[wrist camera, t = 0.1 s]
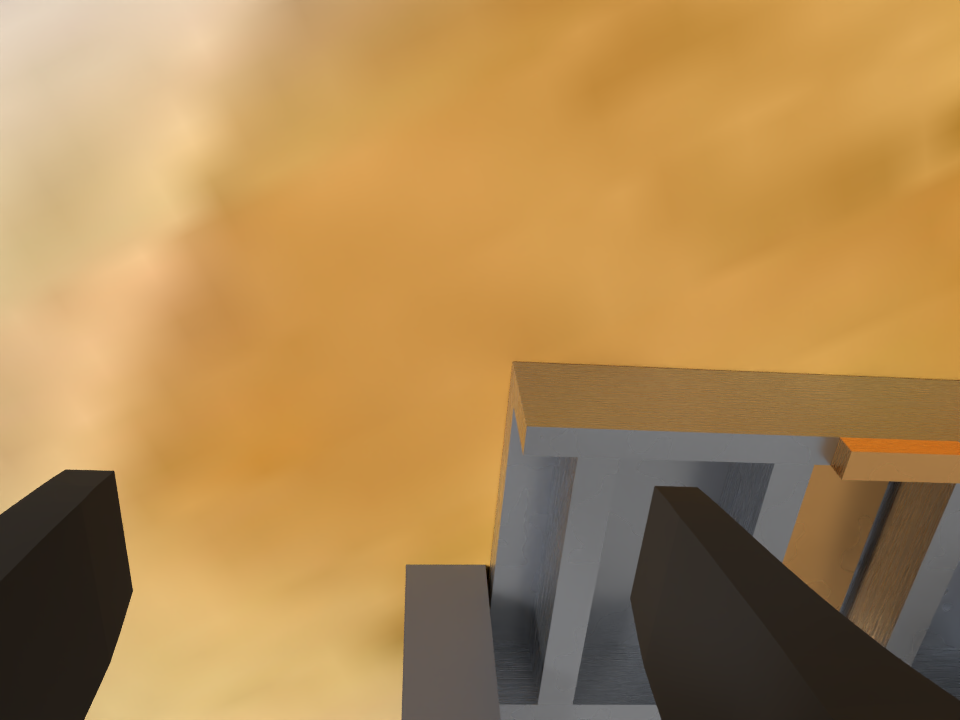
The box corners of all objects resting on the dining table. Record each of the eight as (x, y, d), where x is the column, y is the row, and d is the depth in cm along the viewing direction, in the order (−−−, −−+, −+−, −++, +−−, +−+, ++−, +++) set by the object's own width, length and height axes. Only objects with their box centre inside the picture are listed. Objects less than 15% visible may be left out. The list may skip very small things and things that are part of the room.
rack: (1006, 642, 27) (1088, 741, 24) (482, 637, 26) (491, 742, 22) (1138, 388, 23) (1263, 465, 19) (512, 361, 21) (530, 440, 18)
